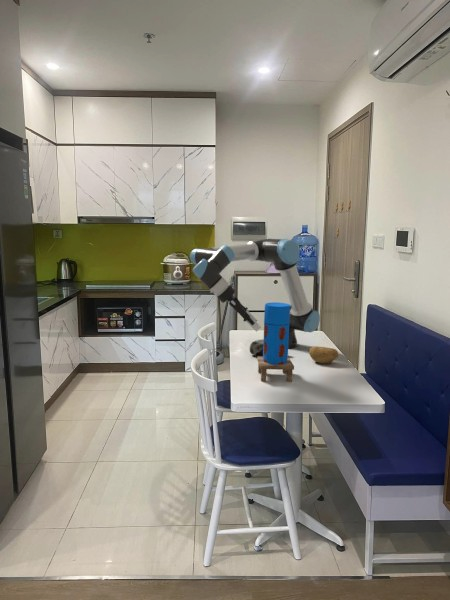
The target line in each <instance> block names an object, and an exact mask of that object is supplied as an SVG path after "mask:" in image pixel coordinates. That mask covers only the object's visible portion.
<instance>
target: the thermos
mask: <svg viewBox="0 0 450 600" xmlns="http://www.w3.org/2000/svg"><path fill="white" fill-rule="evenodd" d="M289 304H290V303H285V302H277V301H276V302H275V301H274V302H266V303H265V304H264V315H263V317H264V319H263V325H264V326H263V339H264V341H263V361H264V362H265V363H268V364H274V365H280V364H285V363H287V358H288V357H289V348H288V343H289V321H290V305H289Z"/></svg>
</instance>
